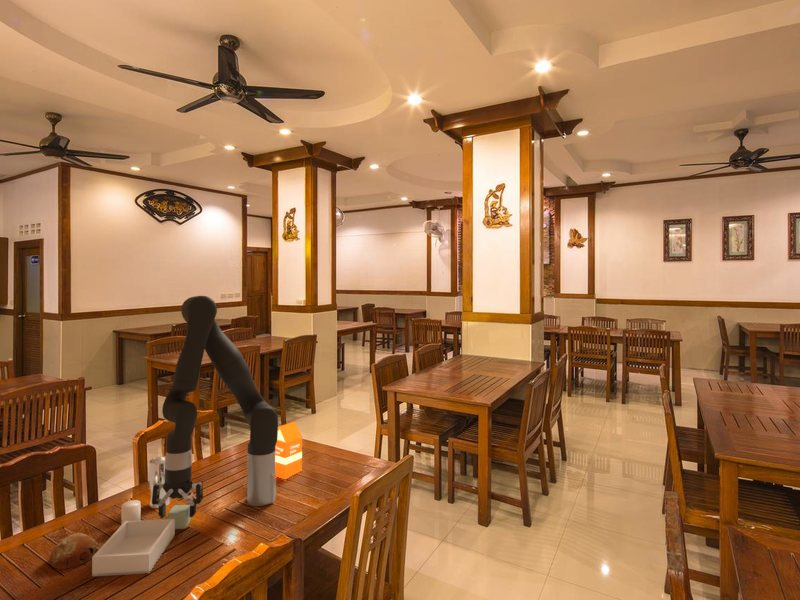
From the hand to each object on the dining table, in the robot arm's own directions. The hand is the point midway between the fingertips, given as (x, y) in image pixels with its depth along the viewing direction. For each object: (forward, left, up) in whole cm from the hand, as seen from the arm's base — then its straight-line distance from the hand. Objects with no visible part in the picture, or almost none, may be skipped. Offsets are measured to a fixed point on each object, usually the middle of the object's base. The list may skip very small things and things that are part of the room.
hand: (177, 516), depth 140 cm
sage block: (-1, 0, -3) cm, 3 cm away
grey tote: (+5, +15, -2) cm, 16 cm away
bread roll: (+21, +15, -3) cm, 26 cm away
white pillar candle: (+13, 0, -2) cm, 14 cm away
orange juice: (-29, -35, -3) cm, 45 cm away
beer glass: (+10, -14, -3) cm, 17 cm away
